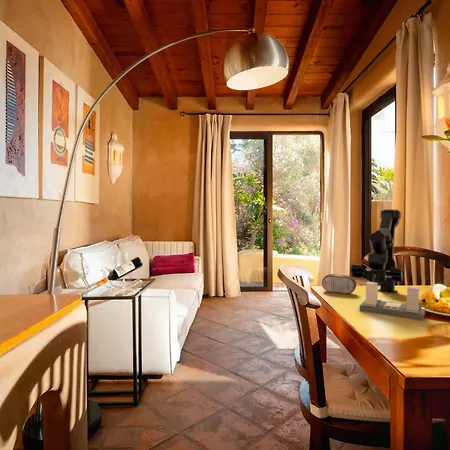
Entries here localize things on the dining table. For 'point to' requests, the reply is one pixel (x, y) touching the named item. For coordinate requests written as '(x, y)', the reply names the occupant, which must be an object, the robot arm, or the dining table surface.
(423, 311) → the switch bank
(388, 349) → the dining table surface
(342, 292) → the tin
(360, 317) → the dining table surface
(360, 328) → the dining table surface
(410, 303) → the tab grey
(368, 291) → the tab offwhite
